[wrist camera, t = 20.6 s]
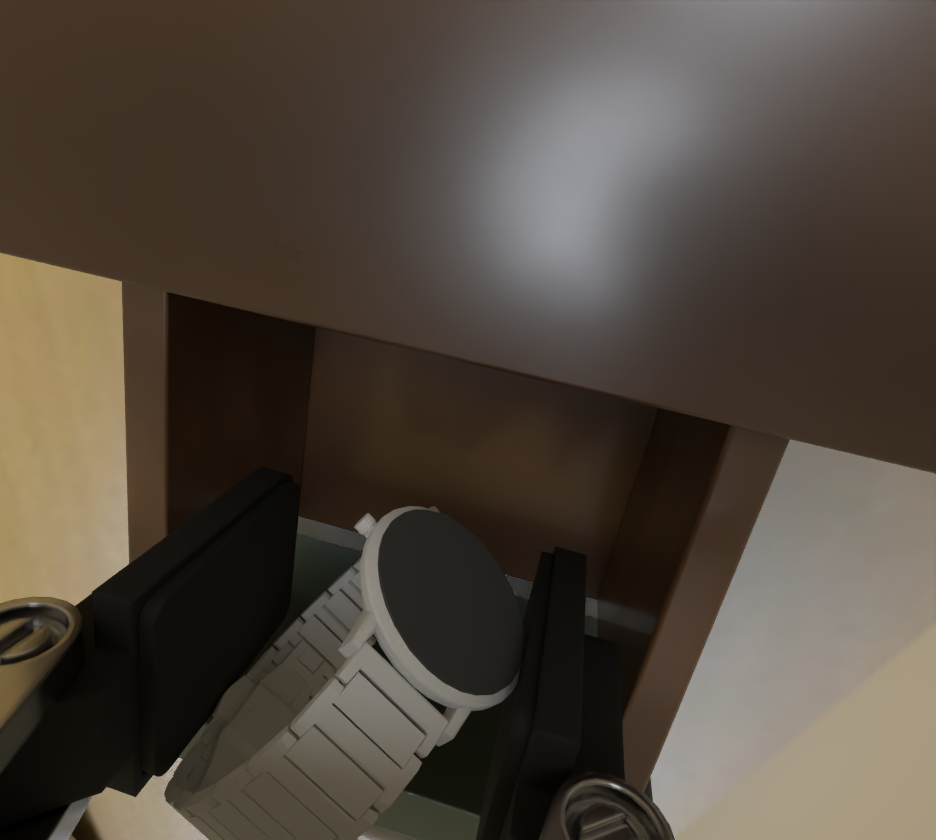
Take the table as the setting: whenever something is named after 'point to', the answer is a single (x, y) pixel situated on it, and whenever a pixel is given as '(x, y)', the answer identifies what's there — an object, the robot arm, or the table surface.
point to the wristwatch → (357, 688)
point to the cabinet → (515, 187)
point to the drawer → (449, 495)
